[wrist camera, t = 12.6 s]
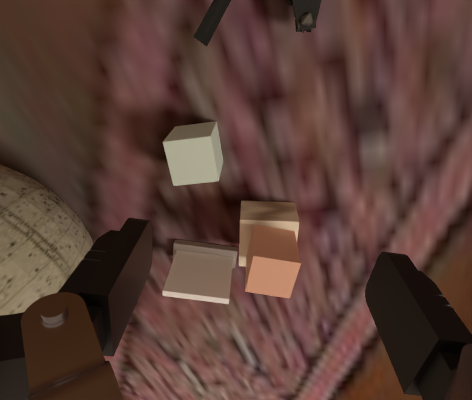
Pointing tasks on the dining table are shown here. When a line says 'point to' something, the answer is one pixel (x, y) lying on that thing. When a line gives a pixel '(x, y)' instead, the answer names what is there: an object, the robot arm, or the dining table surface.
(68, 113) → the dining table surface
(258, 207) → the beech base block
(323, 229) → the dining table surface
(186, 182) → the sage block
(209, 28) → the helicopter
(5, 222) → the celestial globe
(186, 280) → the board
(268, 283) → the terracotta block
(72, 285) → the robot arm
